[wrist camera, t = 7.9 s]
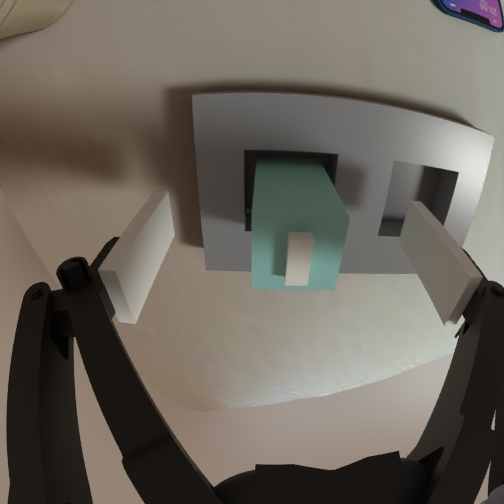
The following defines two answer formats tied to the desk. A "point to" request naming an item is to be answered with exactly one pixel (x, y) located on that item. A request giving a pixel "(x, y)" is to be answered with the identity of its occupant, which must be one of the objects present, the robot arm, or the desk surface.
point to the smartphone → (475, 12)
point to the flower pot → (29, 15)
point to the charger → (296, 225)
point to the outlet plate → (335, 169)
